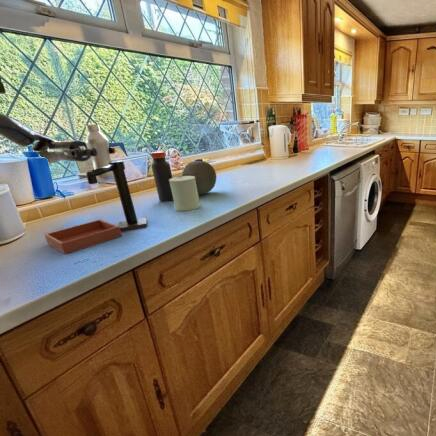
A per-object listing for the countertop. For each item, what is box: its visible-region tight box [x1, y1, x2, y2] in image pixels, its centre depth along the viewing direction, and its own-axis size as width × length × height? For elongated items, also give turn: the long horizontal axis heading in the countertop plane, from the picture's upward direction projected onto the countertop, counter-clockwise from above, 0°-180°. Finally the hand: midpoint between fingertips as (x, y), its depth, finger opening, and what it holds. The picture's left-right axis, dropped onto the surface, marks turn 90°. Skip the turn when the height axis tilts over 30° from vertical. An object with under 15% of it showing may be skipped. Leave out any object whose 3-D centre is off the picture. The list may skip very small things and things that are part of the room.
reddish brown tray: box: [44, 219, 123, 255], centre depth 89 cm, size 14×13×3 cm
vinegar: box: [150, 151, 174, 202], centre depth 126 cm, size 7×7×20 cm
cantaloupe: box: [181, 160, 217, 196], centre depth 133 cm, size 14×14×15 cm
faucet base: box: [113, 170, 148, 232], centre depth 97 cm, size 8×7×19 cm
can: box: [169, 175, 201, 212], centre depth 116 cm, size 9×9×12 cm
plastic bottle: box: [84, 124, 115, 184], centre depth 107 cm, size 6×7×20 cm
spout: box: [85, 160, 126, 185], centre depth 87 cm, size 16×4×4 cm, turn 8°
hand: (104, 151), depth 106 cm, fingers closed on plastic bottle, 6 cm apart
